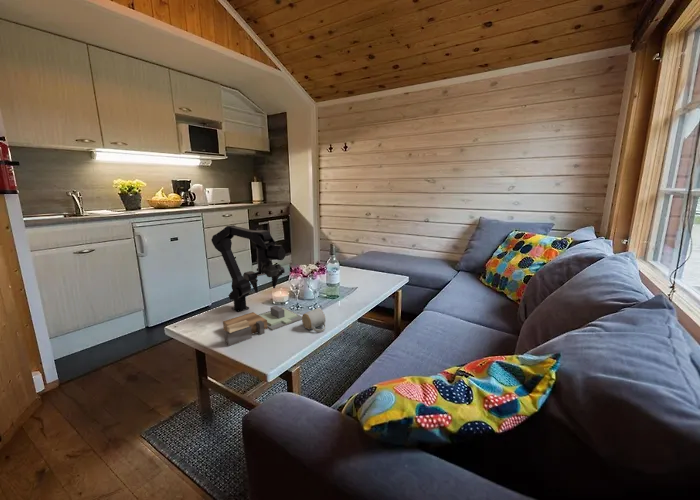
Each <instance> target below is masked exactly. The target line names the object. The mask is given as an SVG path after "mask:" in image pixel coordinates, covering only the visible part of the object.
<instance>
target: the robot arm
mask: <svg viewBox="0 0 700 500" xmlns="http://www.w3.org/2000/svg"><path fill="white" fill-rule="evenodd" d="M234 237H240V238H243V239H247V240H250V241H251V242H252V243H254V245H253V246H252V249H256V257H257V258H256V260H255V262H256V264H257V268H256V271H252V270H250V271H244V273H243V275H242V272H241V269H240V267H239V265H238V262H237V260H236V258H235V256H234V253H233V250H232V245H233V243H232V239H233V238H234ZM210 240H211V243H212V245H213V246H214V249H216V250H217V251H218V252H219V253H220V254H221V256H222V259H223V261H224V263H225V266H226V269H227V270H228V273H229V275H230V278H231V289H232V290H231V292H230V293H229V294H228V298H229V300H232V301H233V307H231V309H232V311H235V312H236V313H239V312H242V311H243V312H244V311H245V310H249V309H250V307H249V306H247V299H246V298H247V296H249V295H250V292H251V290H252V288H253V291H254V292H255V293H257V294H258V281H259V280H258V277H260V276H264V275H265V276H266V277H267V278H271V284H272V289H275V288H276V286H277V284H278V283H277V282H278V280H279V278H280V277H281V276H282V275H283V274H285V273H286V271H285V268H284V266H282V265H281V264H279V263H278V264H277V263H276V264H273V260H278V261H283V260H284V259H285V257H286V250H285V248H284V247H283V244H277V243H276V241H275V239H274V237H272V235H271V233H270V231H269V230H267V229H265V230H264V229H263V230H262V229H260V230H258V229H257V230H254V229H249V228H245V227H242V226H241V227H240V226H237V225H234V224H231V225H227V226H225V227H223V229H222V230H220V231H217V233H216V234H213V235H212V238H211V239H210Z"/></svg>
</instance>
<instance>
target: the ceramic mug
mask: <svg viewBox="0 0 700 500" xmlns="http://www.w3.org/2000/svg"><path fill="white" fill-rule="evenodd" d="M301 316H302V320H301V322H302V325H303V327H304V328H305V329H307V330H312V331H314V332H315V333H322V332H324V331H325V329H326V316H325V313H324V311H323V310H322V309H321V308H320V307H317V308H314V309H313V310H309V311H307V312H305V313H303V314H302V315H301ZM321 326H323V328H321V329H317V328H318V327H321Z"/></svg>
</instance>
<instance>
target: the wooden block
mask: <svg viewBox="0 0 700 500" xmlns="http://www.w3.org/2000/svg"><path fill="white" fill-rule="evenodd" d="M247 327H249V322H248V321H247V320H245V321H242V322H238V323H235V324H232V325H229V326H227V331H228V332H229V333H232V332H235V331H238V330H241V329H244V328H247Z"/></svg>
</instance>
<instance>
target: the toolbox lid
mask: <svg viewBox="0 0 700 500" xmlns="http://www.w3.org/2000/svg"><path fill="white" fill-rule="evenodd" d="M284 308H285V307H284ZM284 308H281V307H280V306H278V305H273V306H270V308H269V309H270V311H271V312H269V313H266V314H263V315H259V314H258V315H259V316H261V317H263V318H264V319H266V320H267V324H269V325H271V326H272V325H275V324H278V323H281V322H283V323H285V324H288V323H291V322H292V321H291V320H290V319H292V318H295V317H298V315H299V314H298V313H296V312H294V313H293V311H292V310H290V311H288V310H289V309H288V310H286V309H287V308H286V309H284ZM291 311H292V312H291ZM295 313H296V314H295ZM297 314H298V315H297ZM291 324H292V323H291Z"/></svg>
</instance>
